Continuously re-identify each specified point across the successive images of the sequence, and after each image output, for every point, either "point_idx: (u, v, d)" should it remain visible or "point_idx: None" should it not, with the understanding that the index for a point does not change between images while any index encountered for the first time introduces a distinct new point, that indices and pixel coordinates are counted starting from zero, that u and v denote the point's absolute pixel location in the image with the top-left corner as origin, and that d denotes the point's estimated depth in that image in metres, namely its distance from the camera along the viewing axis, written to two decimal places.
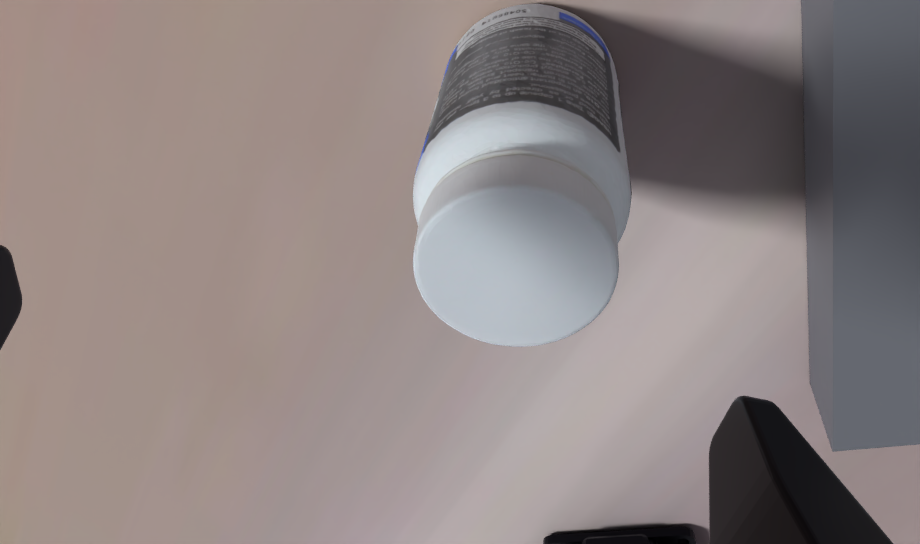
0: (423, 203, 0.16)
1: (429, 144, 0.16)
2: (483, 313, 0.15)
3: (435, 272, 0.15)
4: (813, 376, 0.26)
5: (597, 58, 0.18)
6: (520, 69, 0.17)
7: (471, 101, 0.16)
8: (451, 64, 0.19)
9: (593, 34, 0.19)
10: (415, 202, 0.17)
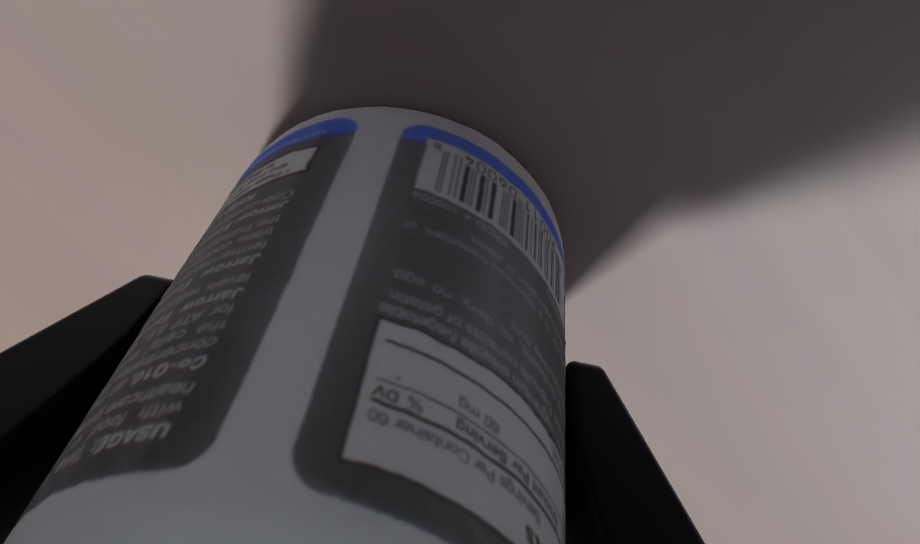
0: None
1: None
2: None
3: None
4: None
5: (271, 192, 0.08)
6: None
7: None
8: None
9: (299, 136, 0.09)
10: None
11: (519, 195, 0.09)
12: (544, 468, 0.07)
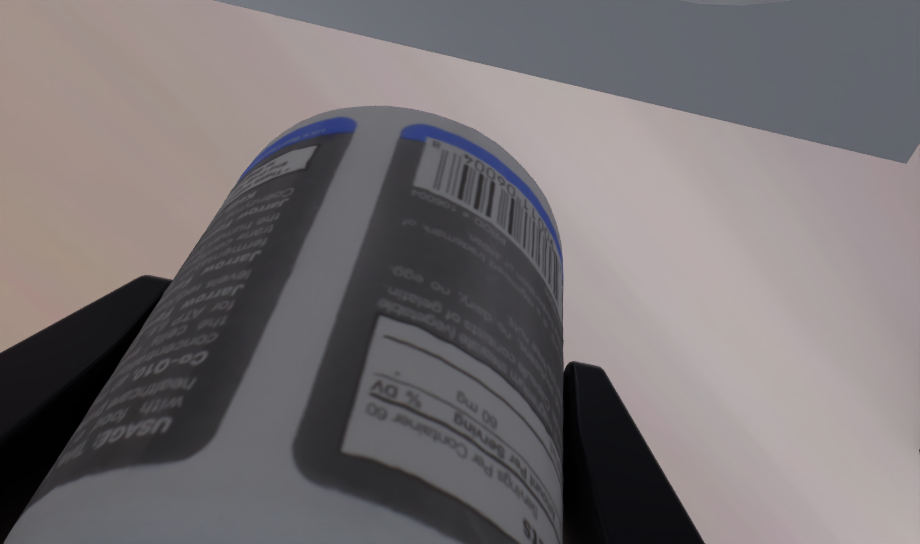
0: None
1: None
2: None
3: None
4: None
5: (271, 190, 0.08)
6: None
7: None
8: None
9: (298, 134, 0.09)
10: None
11: (516, 193, 0.09)
12: (543, 464, 0.07)
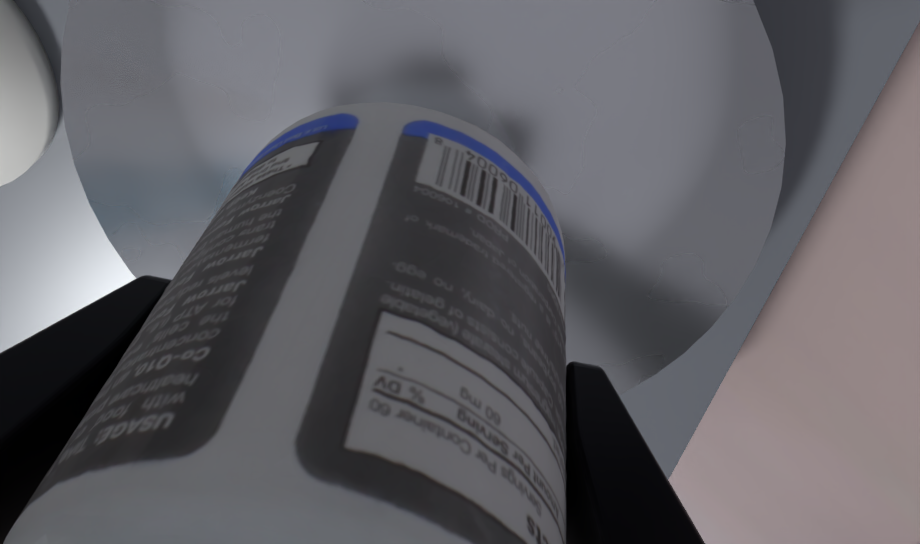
0: None
1: None
2: None
3: None
4: None
5: (273, 187, 0.08)
6: None
7: None
8: None
9: (300, 131, 0.09)
10: None
11: (519, 189, 0.09)
12: (546, 461, 0.07)
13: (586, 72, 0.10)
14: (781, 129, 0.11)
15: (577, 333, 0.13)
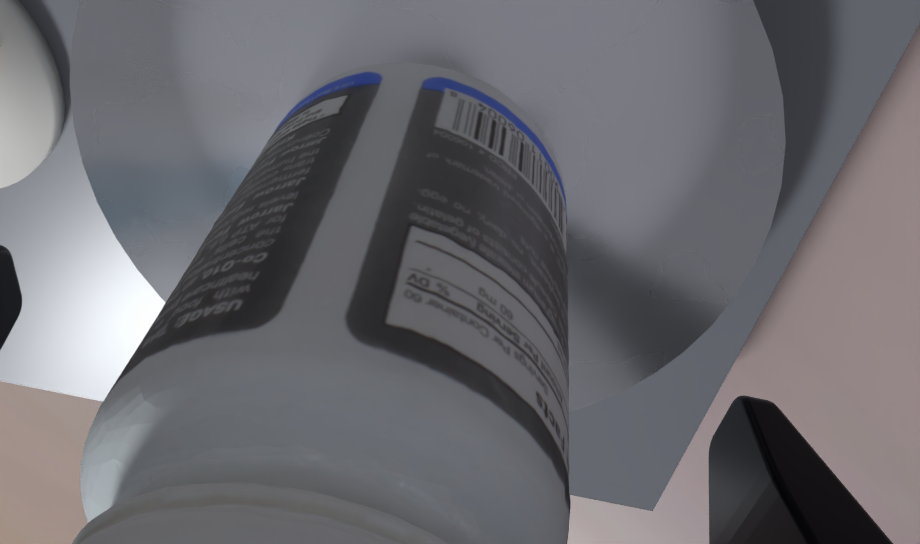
0: None
1: None
2: None
3: None
4: None
5: (310, 132, 0.09)
6: None
7: None
8: None
9: (330, 87, 0.10)
10: None
11: (525, 139, 0.10)
12: (552, 355, 0.08)
13: (588, 72, 0.11)
14: (781, 128, 0.11)
15: (579, 331, 0.14)
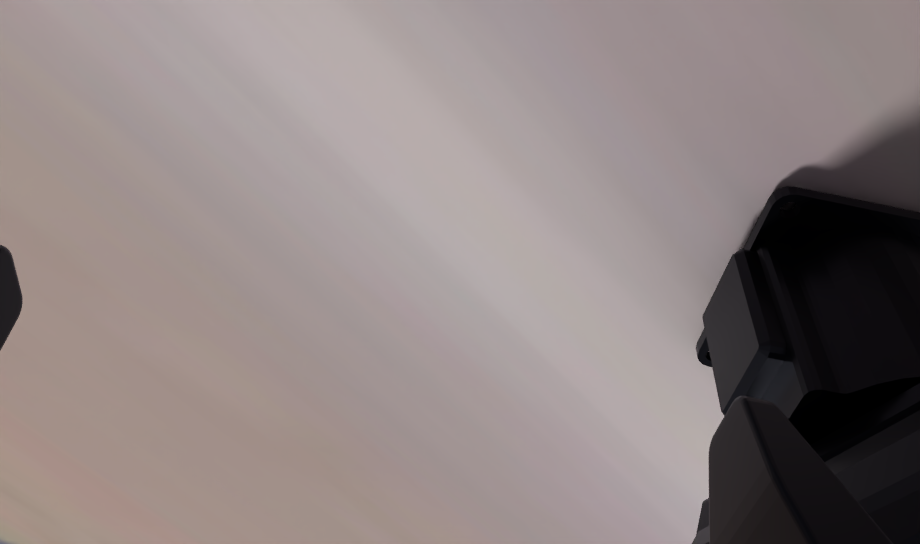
0: None
1: None
2: None
3: None
4: None
5: None
6: None
7: None
8: None
9: None
10: None
11: None
12: None
13: None
14: None
15: None
